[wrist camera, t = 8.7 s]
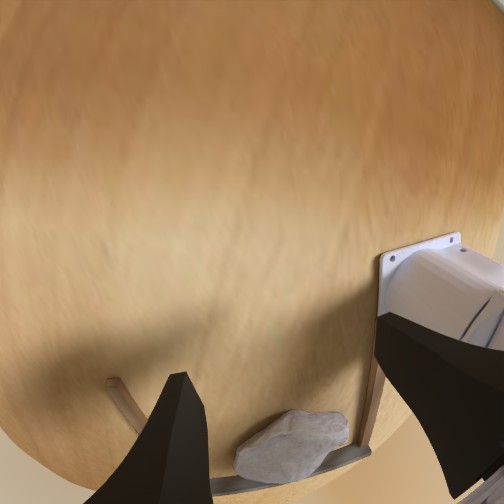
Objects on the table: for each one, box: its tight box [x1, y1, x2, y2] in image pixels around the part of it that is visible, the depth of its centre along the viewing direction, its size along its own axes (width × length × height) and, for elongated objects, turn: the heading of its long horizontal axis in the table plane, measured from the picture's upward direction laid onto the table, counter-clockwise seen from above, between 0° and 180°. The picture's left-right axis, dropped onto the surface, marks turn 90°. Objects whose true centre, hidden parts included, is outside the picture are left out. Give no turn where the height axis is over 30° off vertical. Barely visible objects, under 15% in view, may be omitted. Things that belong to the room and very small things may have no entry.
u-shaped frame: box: [105, 318, 386, 497], centre depth 24 cm, size 24×23×2 cm
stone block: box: [233, 410, 350, 484], centre depth 25 cm, size 12×5×10 cm
